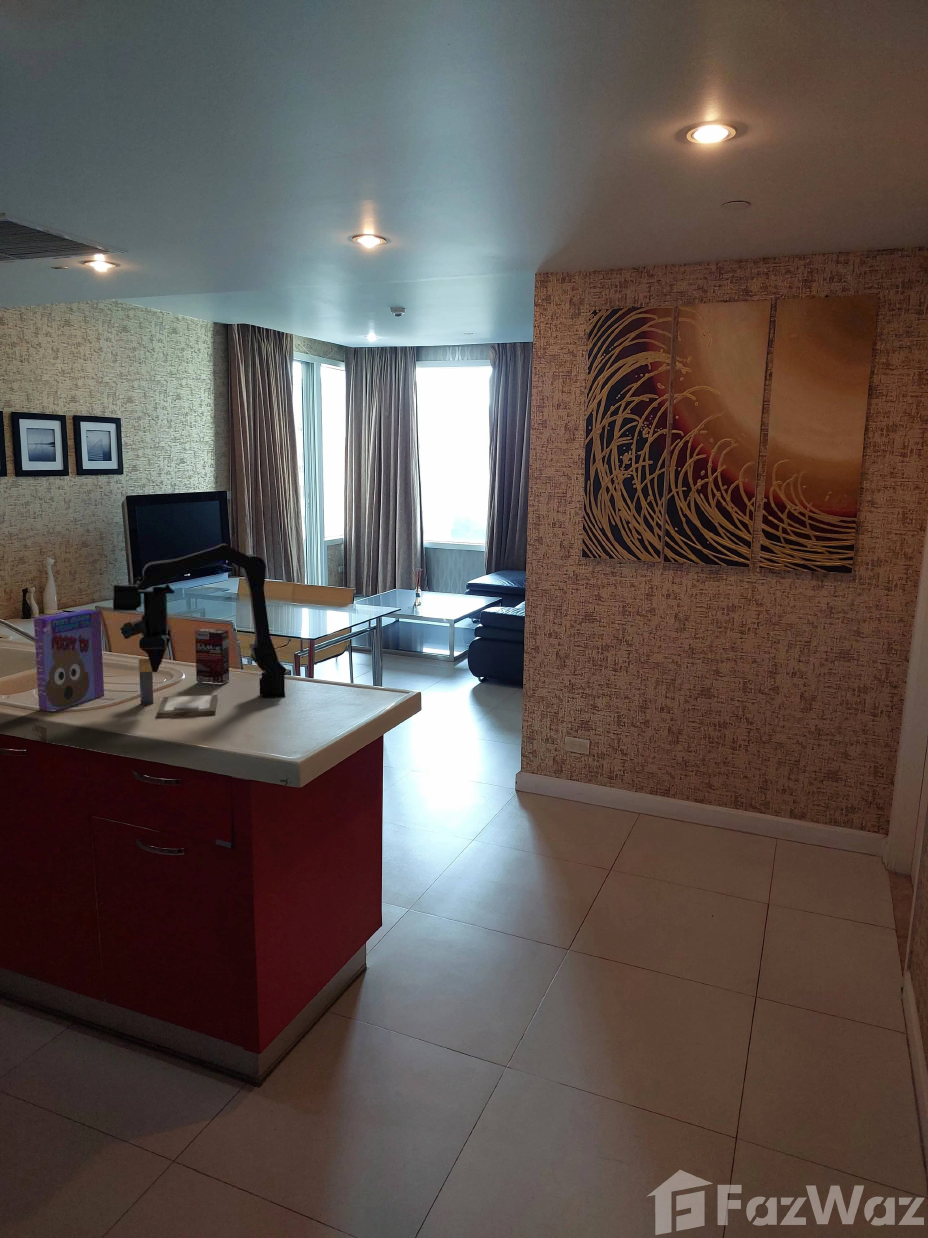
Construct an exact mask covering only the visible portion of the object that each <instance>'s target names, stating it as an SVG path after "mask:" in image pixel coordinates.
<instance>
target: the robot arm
mask: <svg viewBox="0 0 928 1238" xmlns="http://www.w3.org/2000/svg"><path fill="white" fill-rule="evenodd" d="M224 560H226V561H228V562H229V563H231V564H233V565H236V566H238V567H239V568H240V569H241V571H242V574H243V578H244V581H245V582H246V585H247V589H248V593H249V600H250V607H251V608H250V609H251V615H252V622H253V624H252V625H253V629H254V630H253V631H254V642H253V643H249V645H248V646H249V648H250V651H251V652H250V659H251V660H252V661H253V662H254V663H255V665H256V666H257V667H258V668H259V669H260V670H261V677H259V695H261V696H260V697H261V698H263V699H264V698H284V697H286V691H285V690H286V687H285V685H286V683H285V681H286V680H285V674H286V671H287V668H286V667H285V666H284V665H283V664H282V663H281V662H280V661H279V658H278V654H277V652H276V649H275V645H274V643H273V640H272V638H271V634H270V625H269V618H268V610H267V604H266V595H265V583H266V582H265V581H266V575H267V574H266V573H267V572H266V570H267V565H266V562H265V560H264V559H263V558H262V557H260V556H258V555H255V554H245V553H243V552H241V551H239V550H237V549H235V548H232V547H231V546H230V545H228V544H227V543H220V544H218V545H217V546H213V547H210V548H208V549H205V550H201V551H199V552H195V553H191V554H188V555H185V556H181V557H177V558H174V559H165V560H164V559H162V560H156V561H150V562H148V563H146V564H145V565H144V567H143V569H142V576H141V577H140V578H139V579H138V580H137V581H136V583H135V584H130V585H127V584H124V585H123V584H113V596H112V608H113V609H112V610H113V612H135V611H138V610H137V609H138V608H139V609H140V607H142V595H143V615H142V616H141V619H138V620H135V621H128V622H124V623H123V625H122V626H120V631H121V632H120V634H121V635H122V636H123V639H124V640H128V639H130V638H131V637H133V636H137V635H140V634H141V636H142V637H141V638H140V639H139V640H138V641H139V643H138V644H139V647H138V648H139V649H141V650H142V651H143V652H145V653H146V655H147V656H148V658H149V661H150V664H151V668H152V673H157V672H158V671H159V667H160V666H161V665H162V661H163V660H164V657H165V655H166V652H167V648H168V646H169V644H170V640H171V639H172V638H171V637H172V635H173V634H172V628H171V627H170V626H169V625H168V618H169V612H168V595H169V594H175V590H174V588H172V587H171V586H170V585H169V583H168V582H169V581H171V580H173V579H175V578H176V577H177V576H179V575H181V574H183V573H187V572H189V571H193V570H195V569H199V568H202V567H205V566H208V565H210V564H214V563H218V562H221V561H224ZM165 583H166V584H165ZM163 584H165V585H164V586H162V585H163ZM151 587H152V589H150V588H151ZM148 589H149V590H148Z"/></svg>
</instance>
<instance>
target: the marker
mask: <svg viewBox="0 0 928 1238" xmlns="http://www.w3.org/2000/svg"><path fill="white" fill-rule="evenodd" d="M138 671H139V694H140V695H139V696H140V705H141V706H150V705H153V704H154V681H153V680H154V679H153V678H154V677H153V674H154V672H153V671H152V668H151V664H150V661H149V657H148V658H145V657H144V658H139V659H138Z"/></svg>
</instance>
